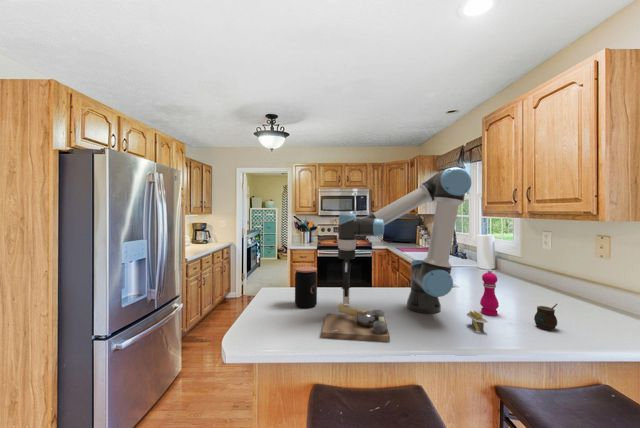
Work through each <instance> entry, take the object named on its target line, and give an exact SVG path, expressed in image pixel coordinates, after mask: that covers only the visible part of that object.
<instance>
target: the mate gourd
mask: <svg viewBox="0 0 640 428" xmlns="http://www.w3.org/2000/svg"><path fill="white" fill-rule="evenodd" d="M557 306H558V303H555V304H554V305H553V306H552V307H549V306H546V305H538V306H536V313H535V314H534V317H533V320H534V323H535V326H537V327H538V328H539V329H542V330H546V331H552V330H554V329H555V328H556V327H557V325H558V320H557V317H556V315H555V312H556V310H555V308H556V307H557Z"/></svg>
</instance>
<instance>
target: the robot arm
mask: <svg viewBox="0 0 640 428" xmlns="http://www.w3.org/2000/svg"><path fill="white" fill-rule="evenodd" d="M471 187H472V177H471V175H470V174H469V173H468V172H467V171H466V170H465V169H463V168H461V167H450V168H446V169H444V170H442V171H440V172H437V173H436V174H434V175H433V176H431V177H429V178H428V179H427V180H426V181H423V182H422V183H421V184H419V186H418V188H416V189H414V190H413V191H411V192H409V193H408V194H405V195H403V196H402V197H400V198H399V199H397V200H395V201H393V202H391V203H390V204H388V205H386V206H384V207H382V208H381V209H379V210H377V211H375V212H373V213H371V214H370V215H368V216H366V217H362V218H360V217H359V218H357V215H356V213H340V214H339V215H338V224H337V225H338V227H337V228H338V232H337V233H338V234H337V235H338V236H337V237H338V239H337V240H338V241H337V242H336V244H338V247H337V248H338V251H337V257H338V259H340V260H343V261H342V262H341V268H342V269H341V270H342V272H341V273H342V277H343V278H342V284H343V285H342V287H341V289H342V304H344V305H350V288H352V285H350V274H351V268H352V262H351V261H350V260H354V259H356V248H357V247H356V245H357V244H356V243H357V242H356V241H357V240H356V239H357V238H356V237H357V236H358V237H359V236H360V237H362V236H363V237H366V236H367V237H382V236H384V233H385V226H386V225H387V224H389V223H391V222H393V221H394V220H396V219H399V218H400V217H402V216H405V215H406V214H408V213H410V212H411V211H413V210H415V209H417V208H418V207H420V206H422V205H424V204H426V203H432V202H436V204H435V205H436V207H435V212H434V217H433V223H432V228H431V234H430V239H429V243H428V244H429V245H428V250H427V255H426V257H425V258H424V259H412V260H411V263H410V292H409V295H408V298H407V300H406V308H407V309H409V310H410V311H413V312H416V313H421V314H437V313H440V312H441V311H442V310H441V309H442V307H441V305H442V304H441V302H440V298H442V297H444V296H446V295H448V294H449V293H450V292H451V291H452V288H453V286H454V280H453V277H452V275H451V271H452V264H451V263H450V262H449V261H450V256H451V250H452V245H453V244H452V243H453V238H454V233H455V226H456V221H457V217H458V211H459V206H460V205H462V204H463V203H464V200H465V195H466V194H467V193H468V192H469V191H470V189H471Z"/></svg>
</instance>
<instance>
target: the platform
mask: <svg viewBox="0 0 640 428" xmlns="http://www.w3.org/2000/svg"><path fill="white" fill-rule="evenodd" d="M466 316H467V317H469V318H470V319H471V325H472V326H473V327H474V328H475V331H480V332H482V333H484V331H485V329H484V328H485V326H484V324H487V323H488V320H486V319H485V318H483V315H482V314H481V313H479V312H478V311H476V310H473V311H472V310H469V312H468V313H466Z"/></svg>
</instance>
